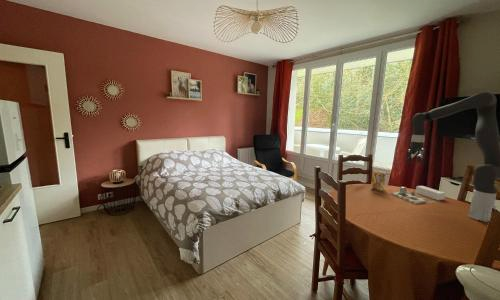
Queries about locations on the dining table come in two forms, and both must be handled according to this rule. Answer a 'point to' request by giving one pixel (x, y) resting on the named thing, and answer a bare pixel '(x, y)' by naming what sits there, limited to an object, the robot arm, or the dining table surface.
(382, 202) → the dining table surface
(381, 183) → the candy box
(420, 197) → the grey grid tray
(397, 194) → the cream peg board
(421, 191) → the grey housing
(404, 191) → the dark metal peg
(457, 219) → the dining table surface
